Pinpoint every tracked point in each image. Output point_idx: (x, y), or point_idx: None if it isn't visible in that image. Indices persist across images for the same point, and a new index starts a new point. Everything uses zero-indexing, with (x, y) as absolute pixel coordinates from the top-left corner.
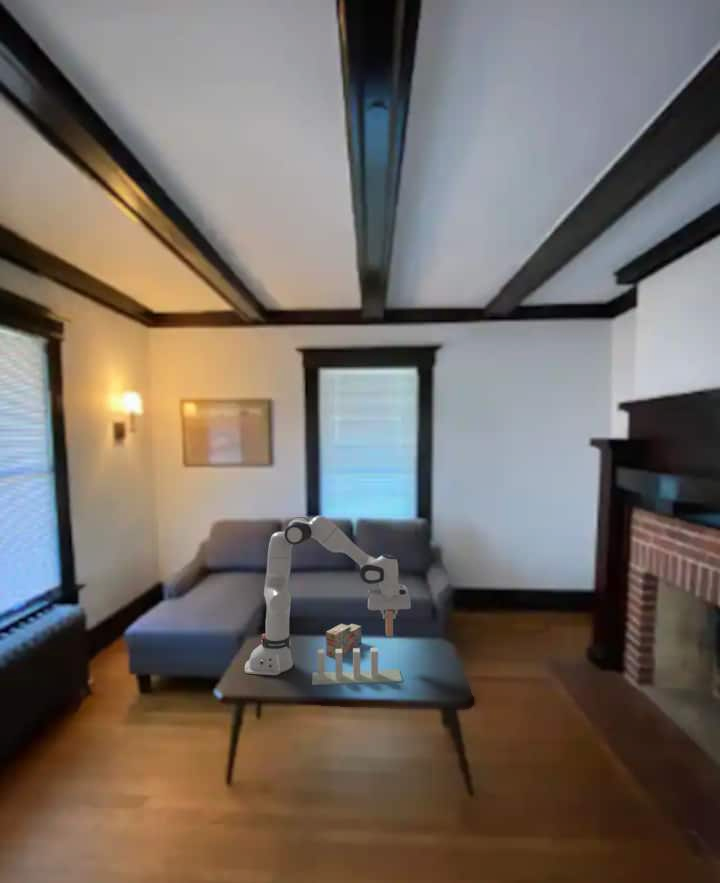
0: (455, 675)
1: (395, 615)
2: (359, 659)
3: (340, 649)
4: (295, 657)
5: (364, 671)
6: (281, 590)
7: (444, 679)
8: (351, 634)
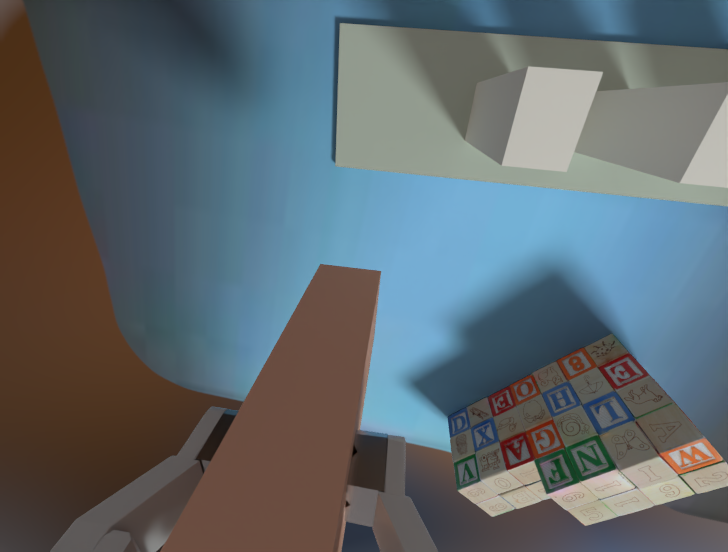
0: (53, 62)
1: (183, 449)
2: (680, 85)
3: None
4: None
5: (527, 176)
6: None
7: (105, 21)
8: (522, 448)
